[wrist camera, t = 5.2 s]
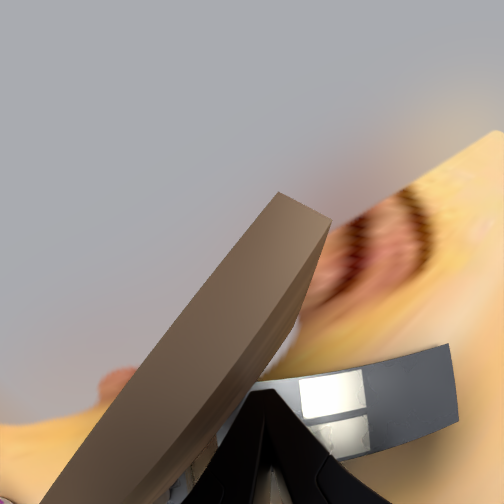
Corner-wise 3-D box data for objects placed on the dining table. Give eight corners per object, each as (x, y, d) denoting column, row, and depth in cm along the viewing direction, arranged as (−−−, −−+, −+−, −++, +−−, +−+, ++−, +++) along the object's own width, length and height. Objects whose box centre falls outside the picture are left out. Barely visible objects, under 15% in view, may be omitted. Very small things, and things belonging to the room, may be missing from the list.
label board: (448, 462, 10) (461, 465, 9) (134, 505, 10) (124, 512, 9) (437, 347, 14) (450, 342, 12) (122, 384, 14) (110, 382, 12)
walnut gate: (300, 331, 13) (353, 224, 5) (156, 513, 9) (47, 595, 1) (264, 309, 14) (261, 176, 6) (125, 488, 10) (-7, 540, 1)
